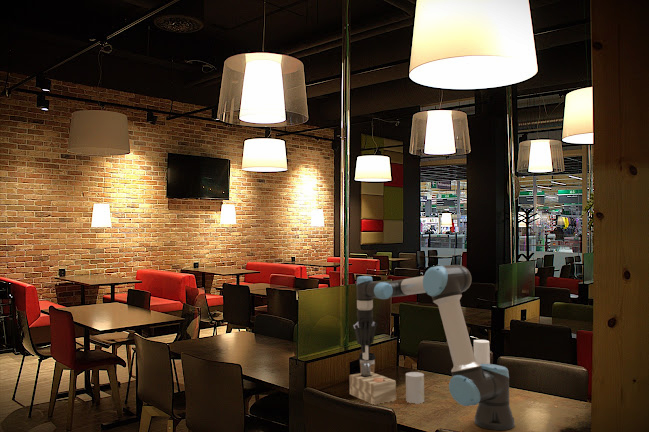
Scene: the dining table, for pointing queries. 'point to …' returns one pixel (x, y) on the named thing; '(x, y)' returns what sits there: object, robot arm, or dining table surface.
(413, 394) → the cup
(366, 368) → the peg steel
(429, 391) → the dining table surface
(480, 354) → the cylindrical container
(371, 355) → the coffee cup
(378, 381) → the peg terracotta
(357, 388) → the birch block
